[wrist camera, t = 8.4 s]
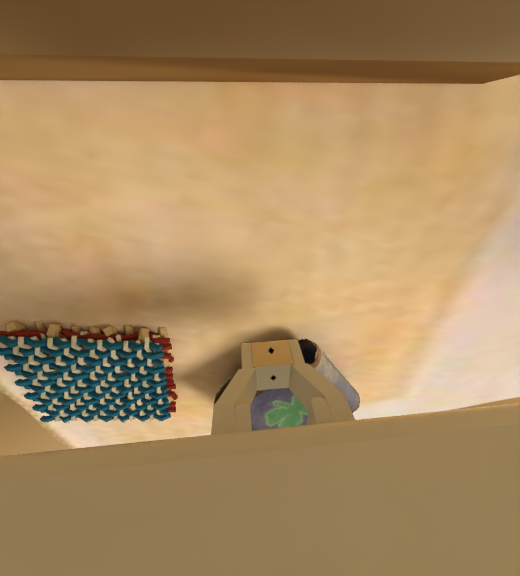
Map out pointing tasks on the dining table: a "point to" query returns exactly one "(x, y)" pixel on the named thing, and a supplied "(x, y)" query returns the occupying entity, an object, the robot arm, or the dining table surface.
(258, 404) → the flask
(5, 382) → the dining table surface
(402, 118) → the dining table surface
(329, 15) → the bar
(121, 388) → the woven mat
